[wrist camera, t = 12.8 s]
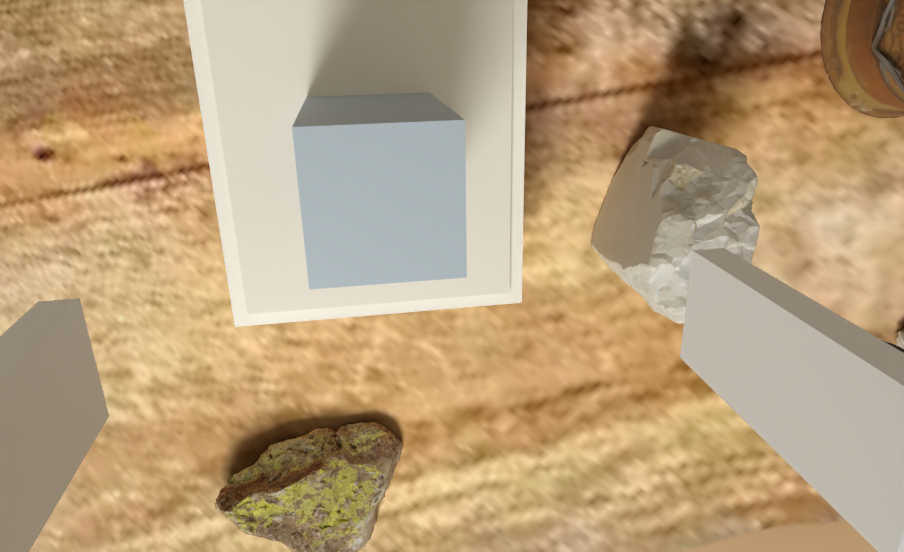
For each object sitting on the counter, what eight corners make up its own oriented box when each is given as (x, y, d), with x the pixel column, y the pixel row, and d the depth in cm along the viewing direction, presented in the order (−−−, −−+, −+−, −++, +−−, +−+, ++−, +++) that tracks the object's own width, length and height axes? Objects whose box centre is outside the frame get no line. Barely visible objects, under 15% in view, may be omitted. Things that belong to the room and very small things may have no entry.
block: (318, 216, 34) (309, 289, 24) (306, 96, 31) (292, 127, 22) (433, 209, 34) (466, 277, 25) (429, 92, 32) (464, 119, 23)
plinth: (249, 285, 41) (234, 329, 35) (203, -31, 34) (175, -42, 29) (498, 266, 43) (523, 304, 37) (499, -34, 37) (529, -45, 31)
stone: (627, 118, 41) (727, 148, 30) (697, 137, 42) (817, 173, 31) (576, 267, 44) (651, 343, 33) (643, 281, 45) (735, 359, 35)
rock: (225, 484, 49) (308, 591, 48) (191, 507, 42) (287, 633, 41) (357, 377, 50) (440, 480, 49) (345, 382, 43) (441, 503, 42)
